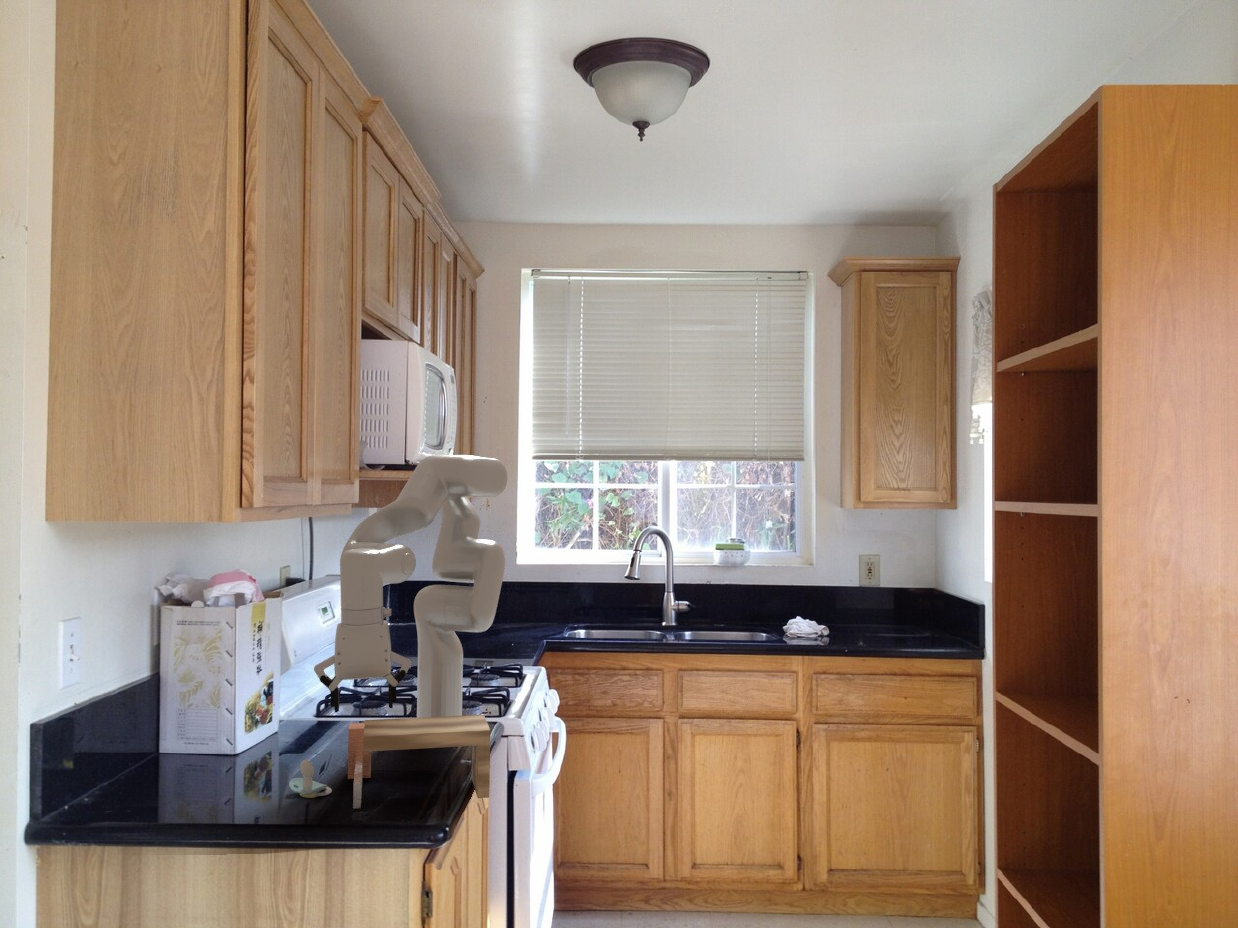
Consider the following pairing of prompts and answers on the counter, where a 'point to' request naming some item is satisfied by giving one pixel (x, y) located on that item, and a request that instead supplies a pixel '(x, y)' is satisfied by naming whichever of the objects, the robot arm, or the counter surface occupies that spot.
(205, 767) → the counter surface
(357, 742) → the orange-brown mallet
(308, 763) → the pacifier
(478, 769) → the oak shelf
